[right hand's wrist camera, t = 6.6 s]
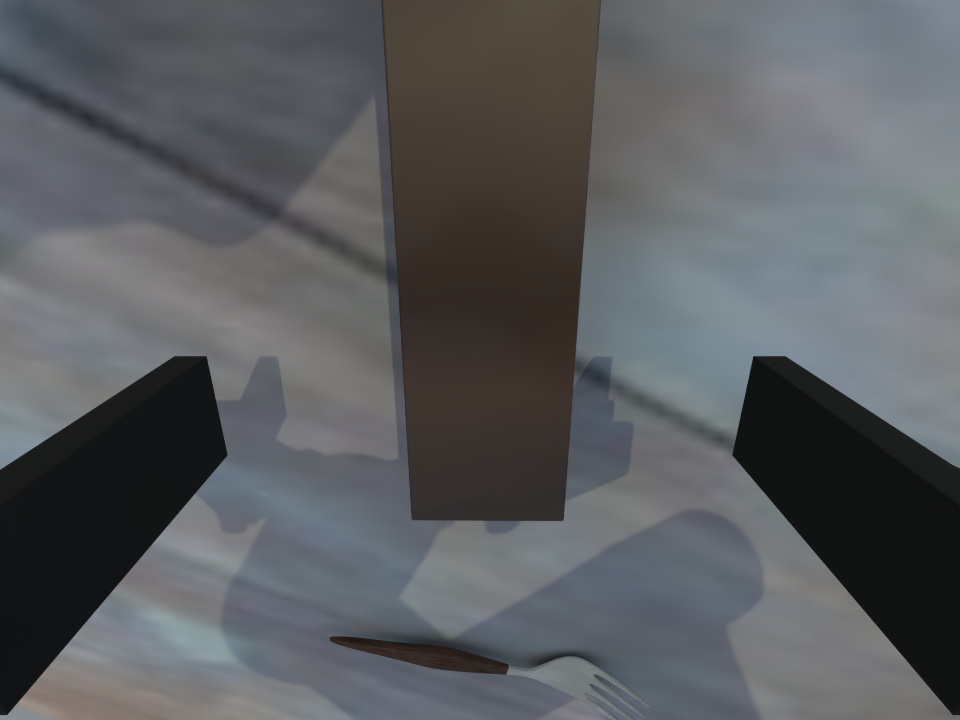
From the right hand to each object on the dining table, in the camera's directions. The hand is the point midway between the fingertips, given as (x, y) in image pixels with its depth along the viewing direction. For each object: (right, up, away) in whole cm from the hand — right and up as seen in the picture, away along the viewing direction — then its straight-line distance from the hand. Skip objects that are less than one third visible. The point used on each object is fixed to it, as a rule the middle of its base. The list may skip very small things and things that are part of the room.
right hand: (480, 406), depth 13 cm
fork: (0, -14, +14) cm, 20 cm away
